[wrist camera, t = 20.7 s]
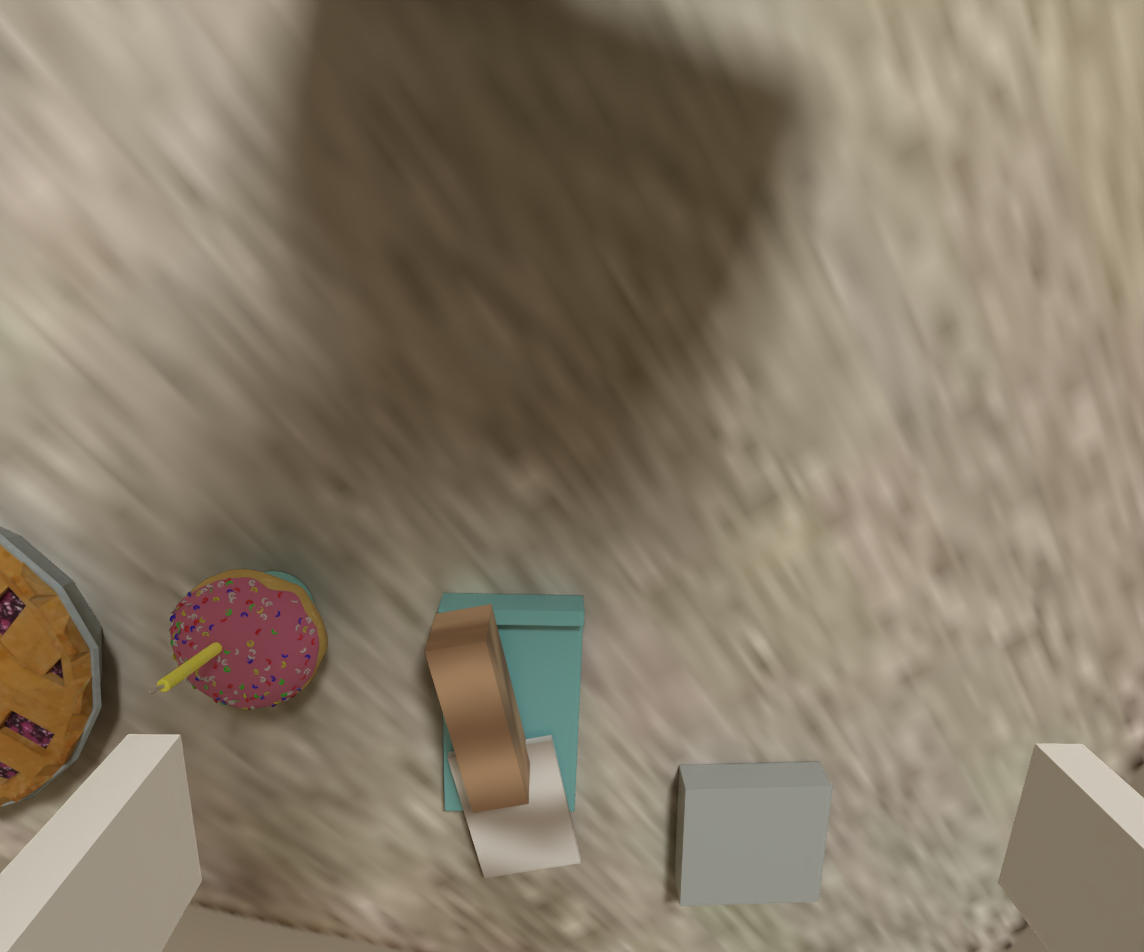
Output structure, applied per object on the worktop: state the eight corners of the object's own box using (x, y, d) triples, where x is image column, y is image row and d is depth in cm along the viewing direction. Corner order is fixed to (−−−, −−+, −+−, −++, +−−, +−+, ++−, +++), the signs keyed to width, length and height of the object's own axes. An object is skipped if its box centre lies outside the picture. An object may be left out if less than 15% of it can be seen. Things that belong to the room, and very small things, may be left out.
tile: (685, 789, 46) (680, 905, 49) (832, 786, 46) (818, 901, 49) (678, 762, 49) (673, 874, 52) (817, 759, 49) (805, 870, 52)
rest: (443, 592, 44) (438, 608, 42) (582, 595, 45) (584, 611, 42) (447, 797, 49) (442, 821, 47) (573, 799, 49) (574, 822, 47)
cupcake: (183, 600, 44) (52, 717, 32) (271, 515, 42) (167, 605, 31) (286, 685, 46) (198, 824, 34) (374, 606, 44) (313, 723, 33)
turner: (407, 618, 42) (394, 657, 38) (519, 599, 42) (516, 636, 38) (485, 870, 50) (479, 923, 46) (580, 855, 49) (582, 907, 46)
